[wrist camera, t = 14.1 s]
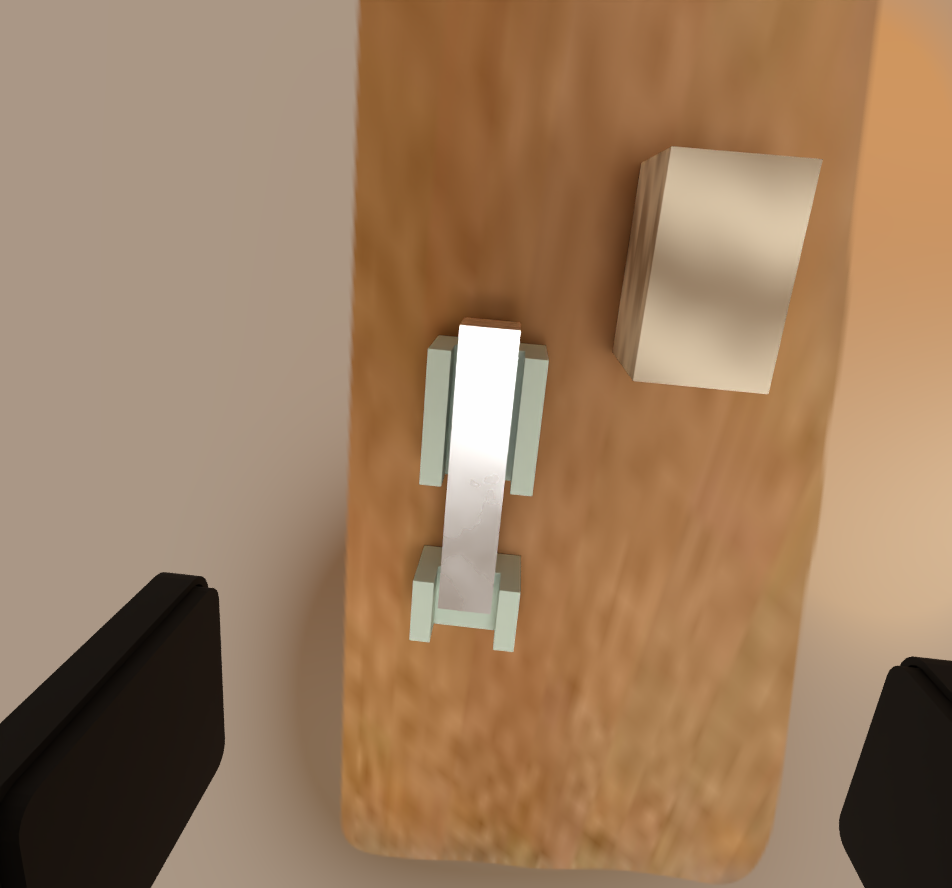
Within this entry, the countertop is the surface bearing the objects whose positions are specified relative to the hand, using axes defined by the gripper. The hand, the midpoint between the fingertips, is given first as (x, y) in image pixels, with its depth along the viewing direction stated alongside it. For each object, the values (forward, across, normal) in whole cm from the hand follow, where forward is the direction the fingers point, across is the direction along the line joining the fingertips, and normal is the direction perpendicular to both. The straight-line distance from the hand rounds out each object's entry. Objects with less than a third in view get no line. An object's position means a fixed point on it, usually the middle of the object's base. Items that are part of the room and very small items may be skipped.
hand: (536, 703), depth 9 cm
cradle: (+30, +2, +9) cm, 32 cm away
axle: (+28, +2, +6) cm, 29 cm away
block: (+30, -8, -5) cm, 32 cm away
